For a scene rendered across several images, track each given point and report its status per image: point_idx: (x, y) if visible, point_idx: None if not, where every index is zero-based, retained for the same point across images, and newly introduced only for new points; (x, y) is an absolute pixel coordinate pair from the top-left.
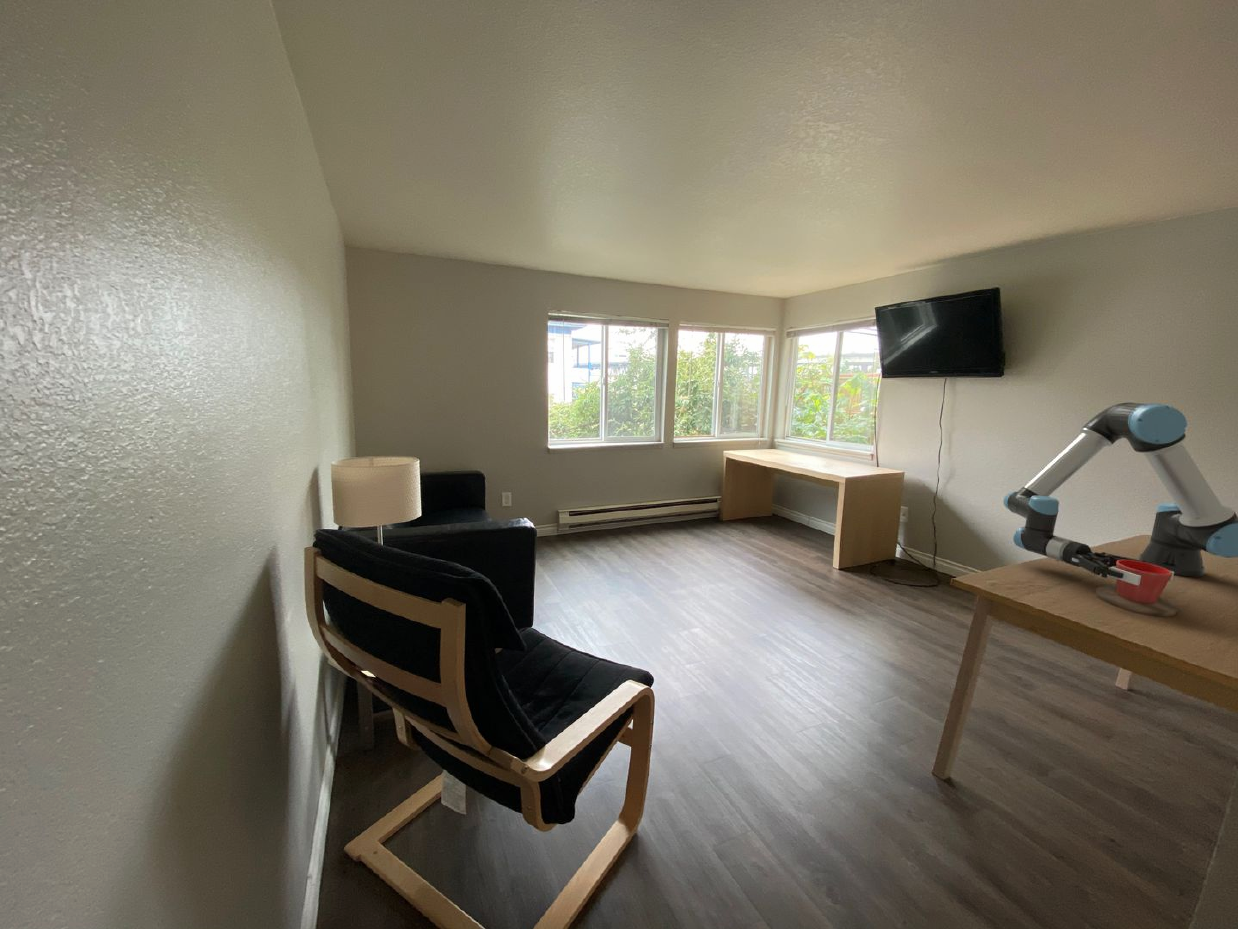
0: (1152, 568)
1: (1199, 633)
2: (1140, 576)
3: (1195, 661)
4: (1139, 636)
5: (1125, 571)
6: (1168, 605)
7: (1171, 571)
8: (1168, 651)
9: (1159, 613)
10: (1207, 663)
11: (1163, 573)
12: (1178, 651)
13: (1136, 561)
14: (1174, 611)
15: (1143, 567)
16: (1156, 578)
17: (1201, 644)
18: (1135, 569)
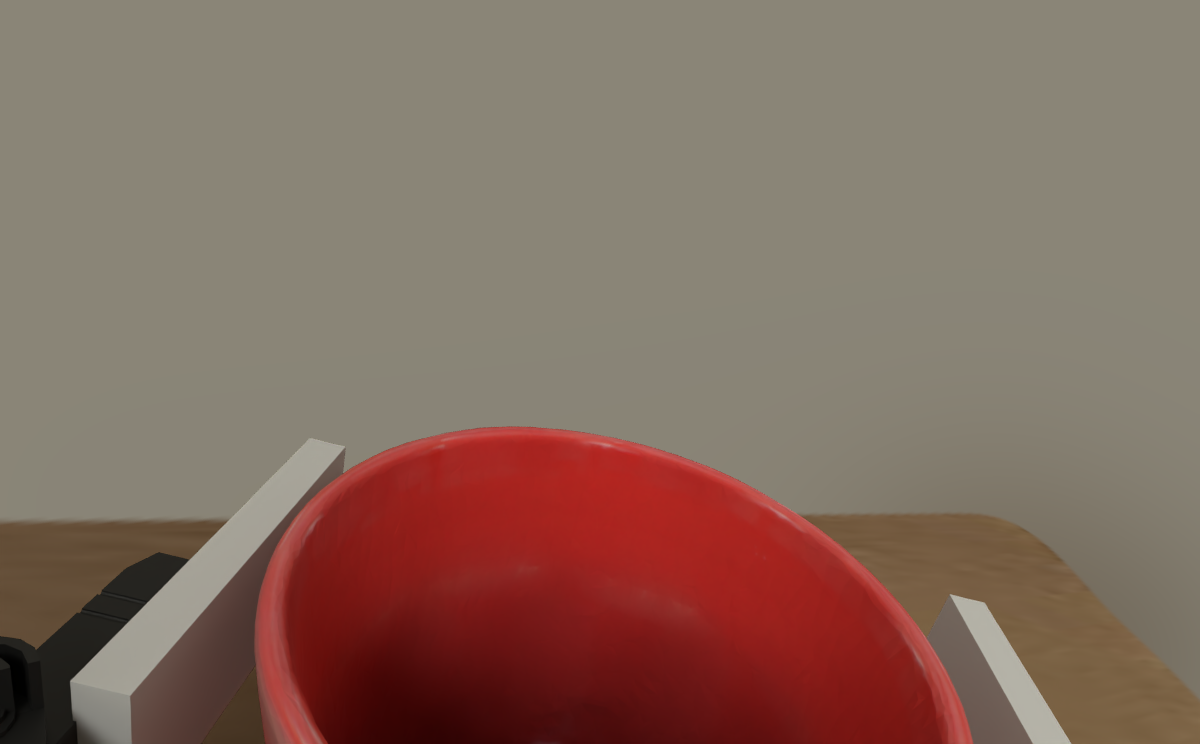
0: (317, 587)
1: None
2: (962, 600)
3: (1045, 566)
4: (1146, 727)
5: (1043, 728)
6: None
7: (317, 450)
8: (1102, 625)
9: None
10: (1005, 546)
11: (406, 517)
12: (1047, 606)
13: (307, 721)
14: None
15: (302, 691)
16: (731, 540)
17: None
18: (913, 624)
